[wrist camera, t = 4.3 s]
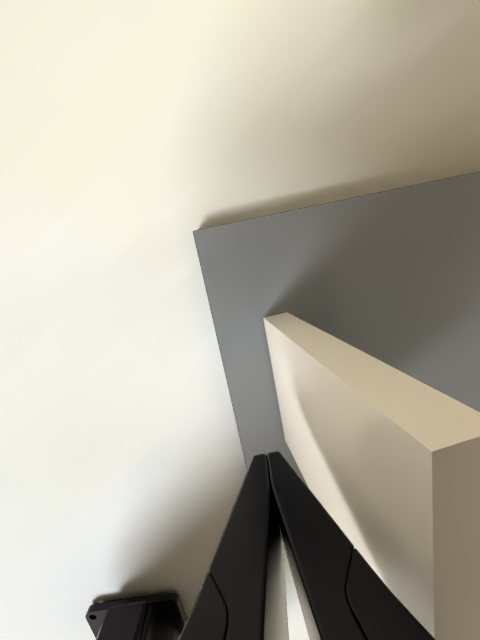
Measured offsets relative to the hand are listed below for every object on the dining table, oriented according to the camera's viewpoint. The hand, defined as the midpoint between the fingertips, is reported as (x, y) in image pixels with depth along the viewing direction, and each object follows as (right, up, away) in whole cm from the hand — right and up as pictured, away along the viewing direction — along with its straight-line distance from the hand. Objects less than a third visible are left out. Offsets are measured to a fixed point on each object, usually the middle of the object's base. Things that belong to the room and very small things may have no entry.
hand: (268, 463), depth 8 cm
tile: (+1, +1, +5) cm, 5 cm away
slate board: (+7, +2, +6) cm, 9 cm away
